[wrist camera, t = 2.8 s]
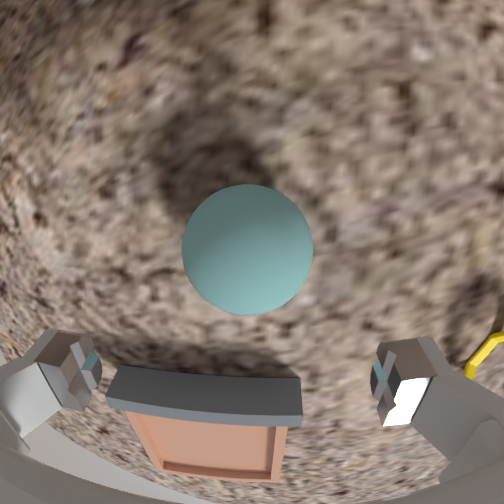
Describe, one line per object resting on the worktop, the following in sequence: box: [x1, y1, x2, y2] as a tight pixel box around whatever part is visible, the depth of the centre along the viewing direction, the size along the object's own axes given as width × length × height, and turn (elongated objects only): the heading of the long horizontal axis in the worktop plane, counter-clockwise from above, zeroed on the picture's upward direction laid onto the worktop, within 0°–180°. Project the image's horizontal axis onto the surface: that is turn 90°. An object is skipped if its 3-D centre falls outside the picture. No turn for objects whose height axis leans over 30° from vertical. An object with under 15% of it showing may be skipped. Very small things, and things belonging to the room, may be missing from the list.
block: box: [105, 365, 303, 426], centre depth 18 cm, size 1×12×3 cm, turn 90°
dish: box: [125, 411, 288, 482], centre depth 22 cm, size 12×12×1 cm
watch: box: [463, 331, 504, 380], centre depth 15 cm, size 6×3×6 cm, turn 154°
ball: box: [182, 184, 313, 315], centre depth 12 cm, size 5×5×5 cm
